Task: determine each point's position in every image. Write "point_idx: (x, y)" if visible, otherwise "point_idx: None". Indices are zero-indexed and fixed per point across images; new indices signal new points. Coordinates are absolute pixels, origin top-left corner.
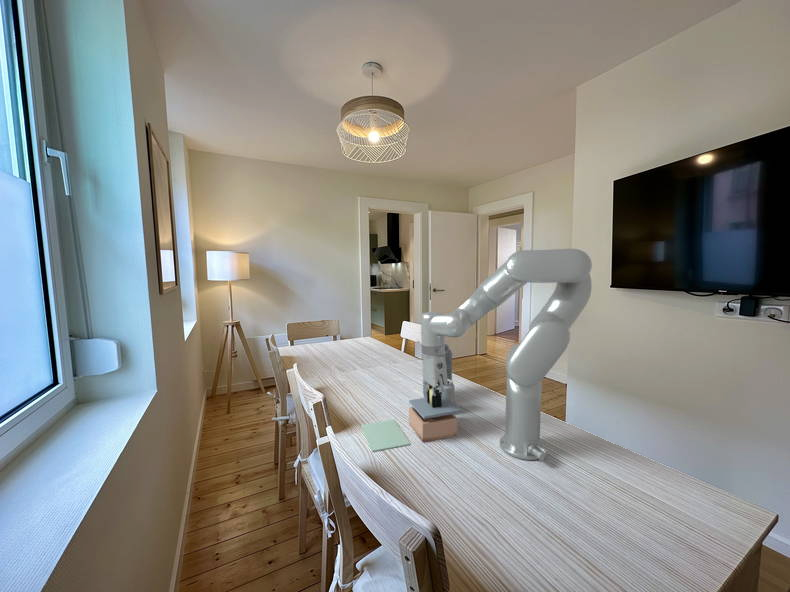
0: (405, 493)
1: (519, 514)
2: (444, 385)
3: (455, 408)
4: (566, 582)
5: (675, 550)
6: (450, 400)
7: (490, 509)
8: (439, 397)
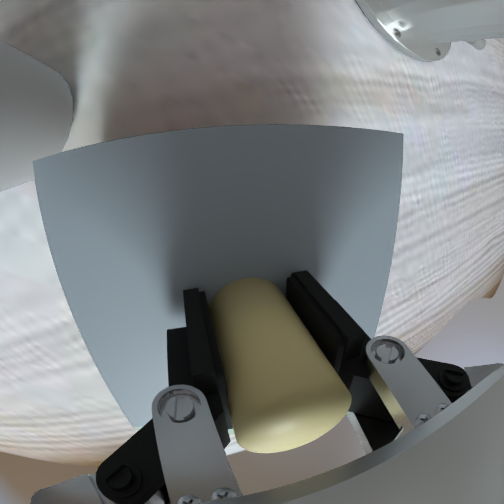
0: (415, 349)
1: (500, 188)
2: (490, 383)
3: (374, 168)
4: None
5: None
6: (37, 82)
7: (486, 225)
8: (366, 342)
